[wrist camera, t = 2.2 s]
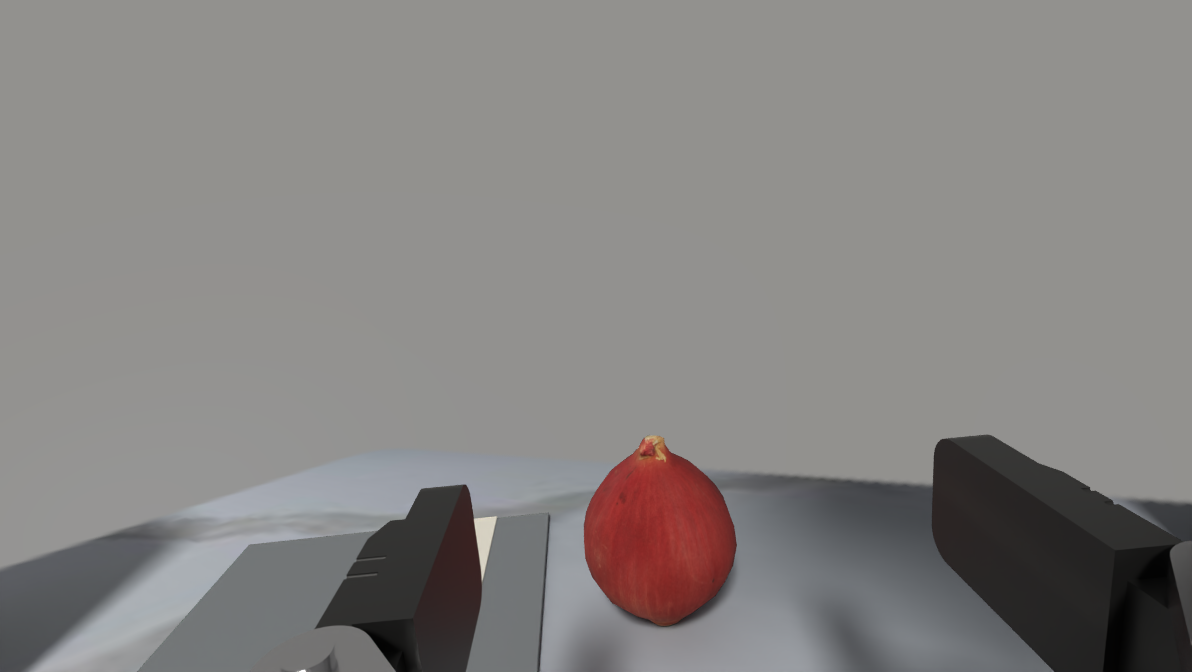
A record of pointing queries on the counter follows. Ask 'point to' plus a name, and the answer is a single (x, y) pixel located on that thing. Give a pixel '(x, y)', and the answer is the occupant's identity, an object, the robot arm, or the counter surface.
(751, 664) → the counter surface
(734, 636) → the counter surface
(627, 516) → the onion
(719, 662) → the counter surface
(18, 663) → the counter surface
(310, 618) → the mat
